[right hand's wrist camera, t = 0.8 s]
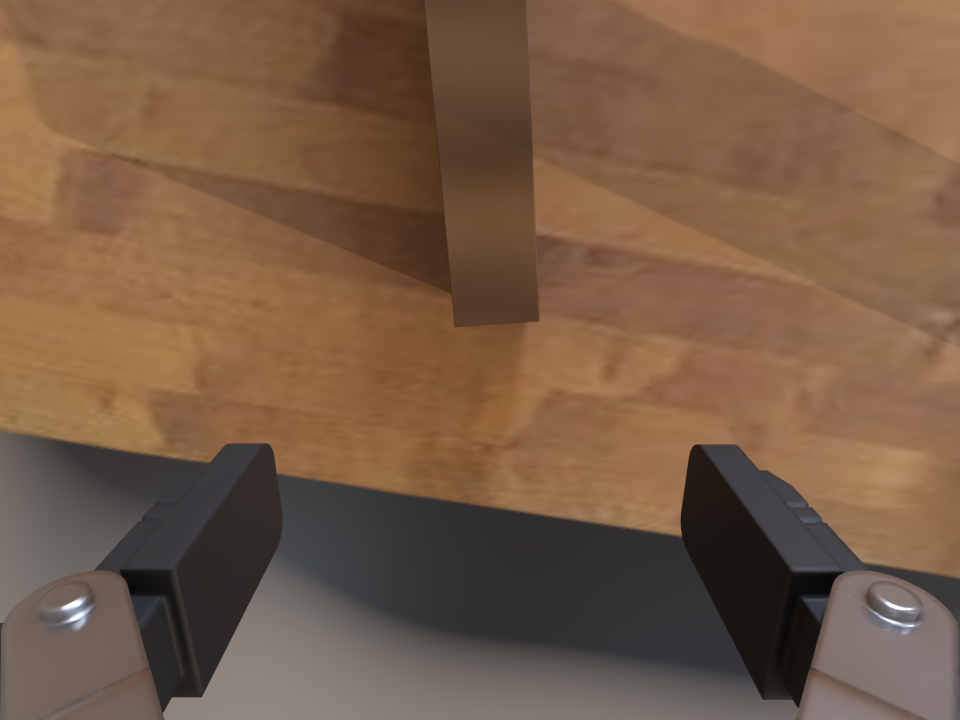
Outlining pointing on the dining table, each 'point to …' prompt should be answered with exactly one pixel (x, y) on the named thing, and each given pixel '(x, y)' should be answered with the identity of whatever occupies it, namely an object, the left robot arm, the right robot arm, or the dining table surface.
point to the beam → (485, 157)
